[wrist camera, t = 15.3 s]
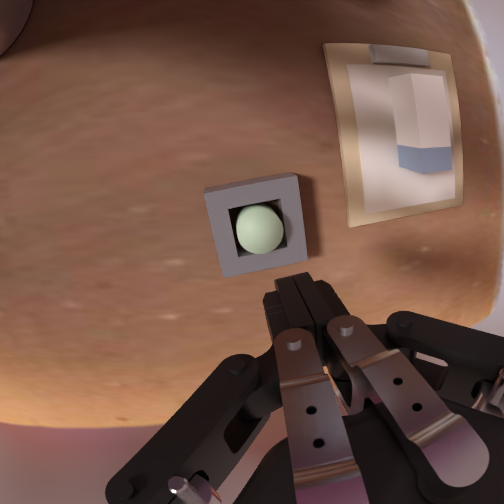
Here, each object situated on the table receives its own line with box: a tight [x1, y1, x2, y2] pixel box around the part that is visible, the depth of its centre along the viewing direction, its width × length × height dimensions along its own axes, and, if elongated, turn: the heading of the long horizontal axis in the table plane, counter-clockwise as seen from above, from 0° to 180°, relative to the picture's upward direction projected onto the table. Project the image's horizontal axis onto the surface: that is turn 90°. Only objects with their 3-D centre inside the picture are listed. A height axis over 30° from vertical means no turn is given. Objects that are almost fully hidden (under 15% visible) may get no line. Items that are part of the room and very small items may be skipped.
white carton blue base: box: [388, 73, 452, 173], centre depth 20 cm, size 8×4×4 cm, turn 10°
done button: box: [235, 202, 283, 254], centre depth 24 cm, size 3×3×3 cm
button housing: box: [204, 172, 308, 278], centre depth 24 cm, size 7×7×2 cm
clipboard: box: [322, 43, 463, 228], centre depth 22 cm, size 16×14×1 cm
